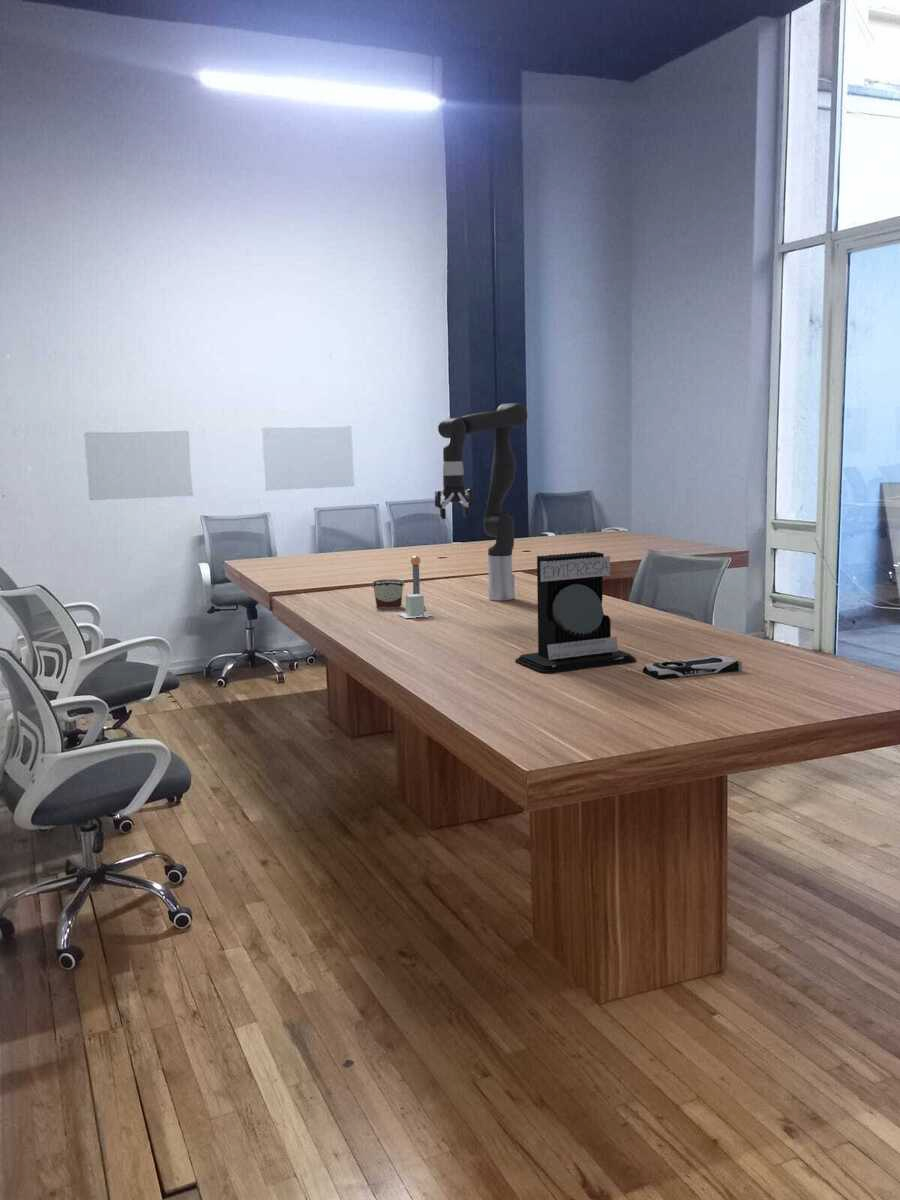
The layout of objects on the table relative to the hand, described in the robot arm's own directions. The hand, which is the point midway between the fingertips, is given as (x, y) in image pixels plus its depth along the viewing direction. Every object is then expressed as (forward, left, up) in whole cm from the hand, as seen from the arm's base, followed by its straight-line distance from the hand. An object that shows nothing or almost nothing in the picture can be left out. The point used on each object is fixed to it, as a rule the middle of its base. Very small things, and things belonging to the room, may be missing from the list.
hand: (454, 518), depth 373 cm
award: (+6, +100, -34) cm, 106 cm away
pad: (+20, +9, -33) cm, 40 cm away
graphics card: (-15, +125, -34) cm, 131 cm away
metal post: (+15, -2, -33) cm, 36 cm away
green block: (+20, +9, -33) cm, 39 cm away
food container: (+21, -15, -33) cm, 42 cm away
